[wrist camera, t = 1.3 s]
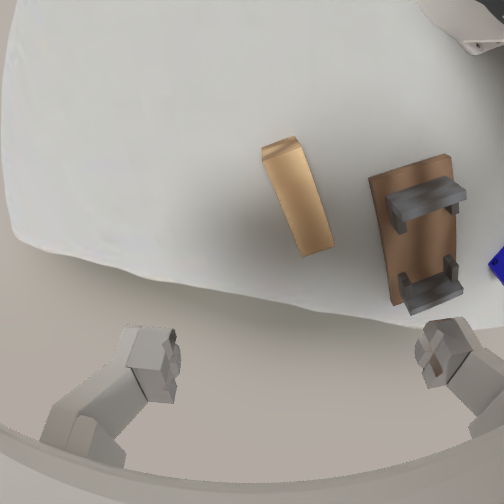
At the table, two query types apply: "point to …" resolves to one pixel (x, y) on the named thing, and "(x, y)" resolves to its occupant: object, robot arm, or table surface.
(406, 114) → the table surface
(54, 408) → the robot arm
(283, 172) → the top rail
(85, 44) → the table surface
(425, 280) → the wooden clamp fixture
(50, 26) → the table surface
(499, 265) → the cable clip
